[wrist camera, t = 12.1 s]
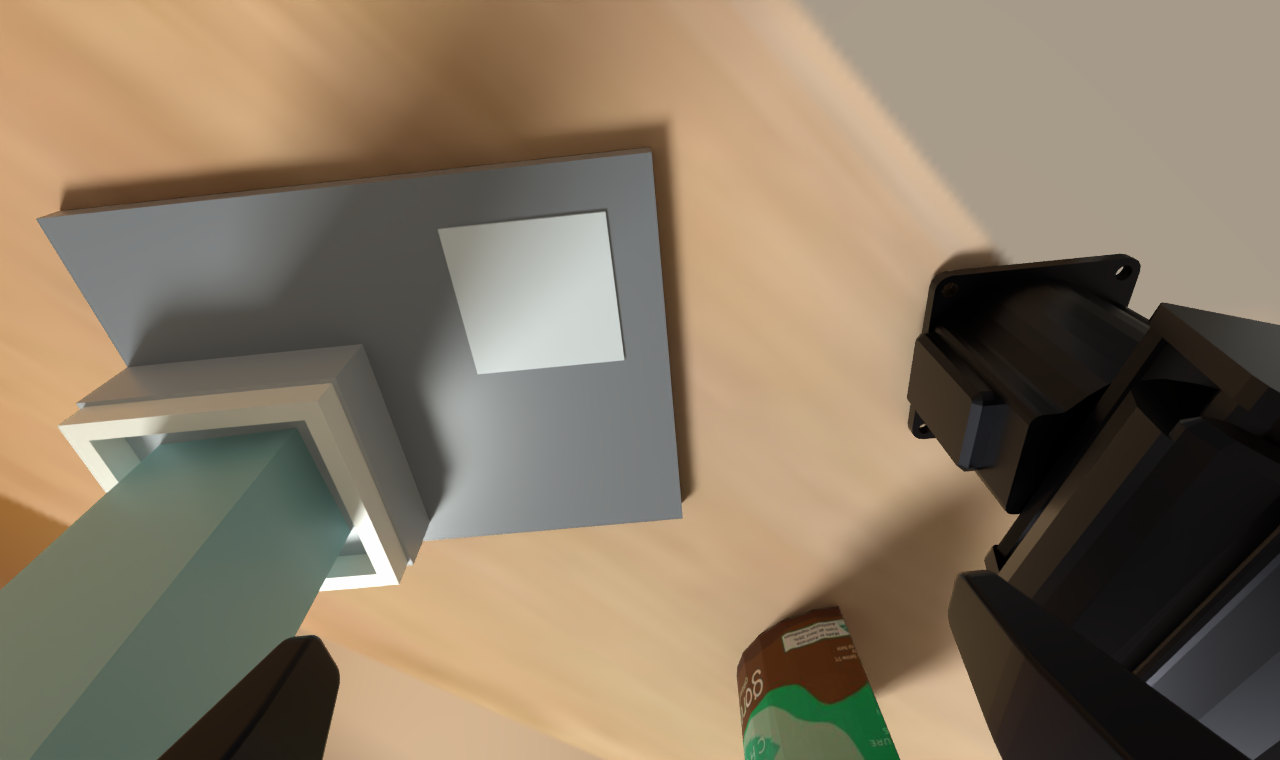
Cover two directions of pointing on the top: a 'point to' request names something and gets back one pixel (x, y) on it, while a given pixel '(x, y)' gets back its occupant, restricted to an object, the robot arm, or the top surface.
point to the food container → (809, 694)
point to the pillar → (163, 597)
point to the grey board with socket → (399, 344)
